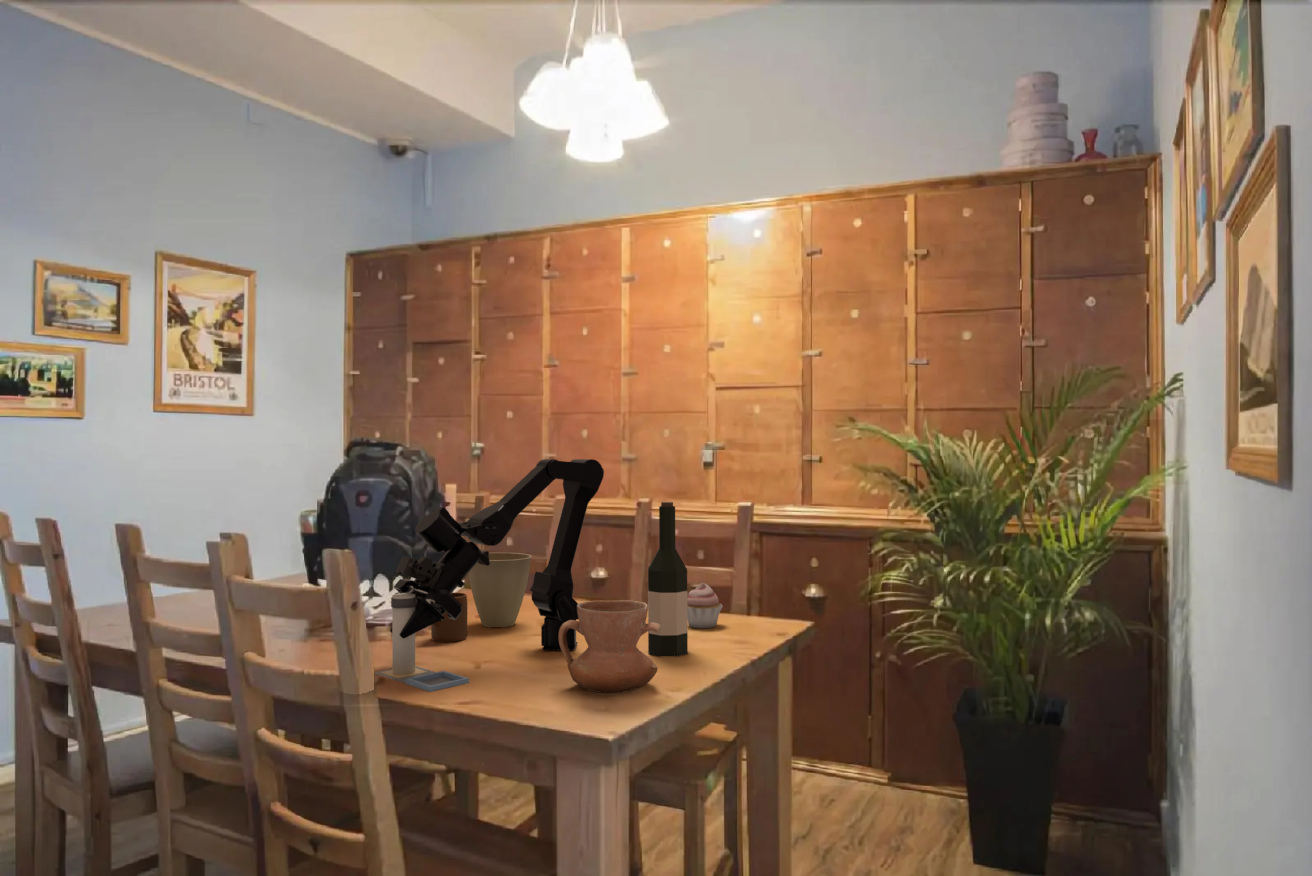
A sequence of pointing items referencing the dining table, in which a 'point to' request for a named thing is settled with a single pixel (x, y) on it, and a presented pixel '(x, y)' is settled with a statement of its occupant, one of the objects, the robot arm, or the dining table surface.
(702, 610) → the cupcake
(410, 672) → the white grey banded cylinder
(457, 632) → the mug
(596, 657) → the ceramic jug
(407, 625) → the robot arm
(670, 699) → the dining table surface
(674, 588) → the wine bottle
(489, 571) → the plant pot
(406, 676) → the grey rectangular board
